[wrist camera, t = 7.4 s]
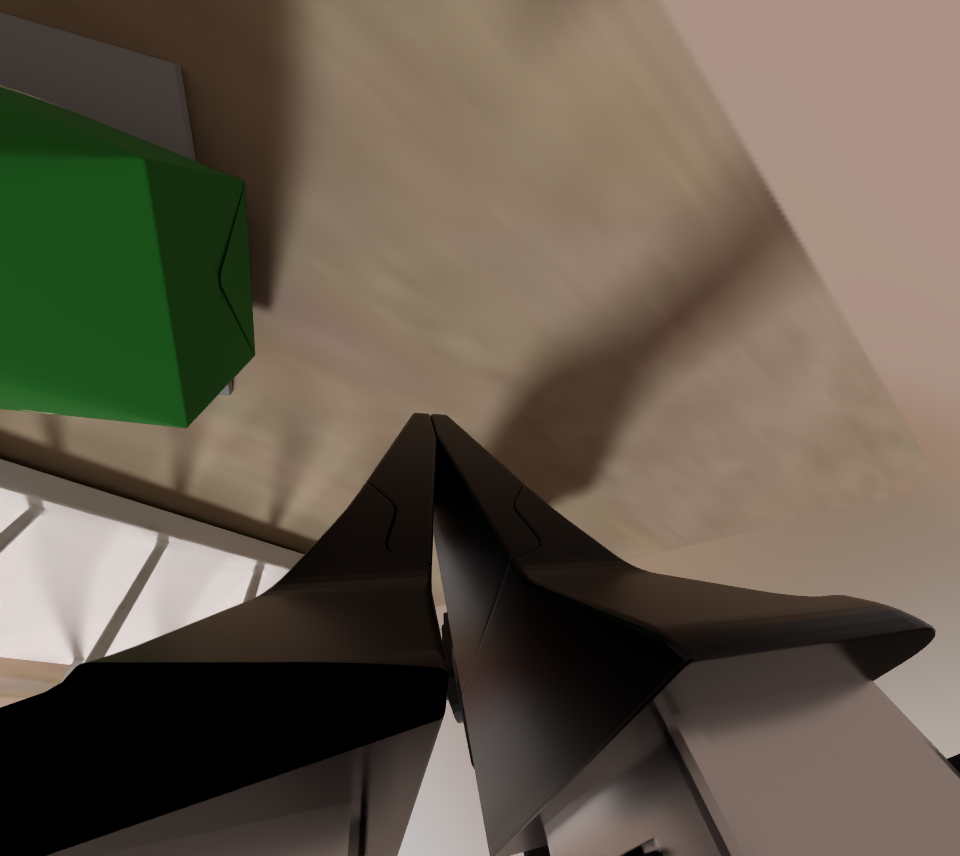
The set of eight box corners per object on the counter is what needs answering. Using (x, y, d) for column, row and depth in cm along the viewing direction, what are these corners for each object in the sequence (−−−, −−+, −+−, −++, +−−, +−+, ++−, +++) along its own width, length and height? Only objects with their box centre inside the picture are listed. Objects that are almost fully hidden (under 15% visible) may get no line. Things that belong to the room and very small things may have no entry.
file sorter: (-165, 603, 23) (-864, 1145, 10) (-115, 411, 17) (-1479, 1054, 5) (253, 665, 35) (176, 936, 23) (355, 565, 30) (329, 848, 17)
